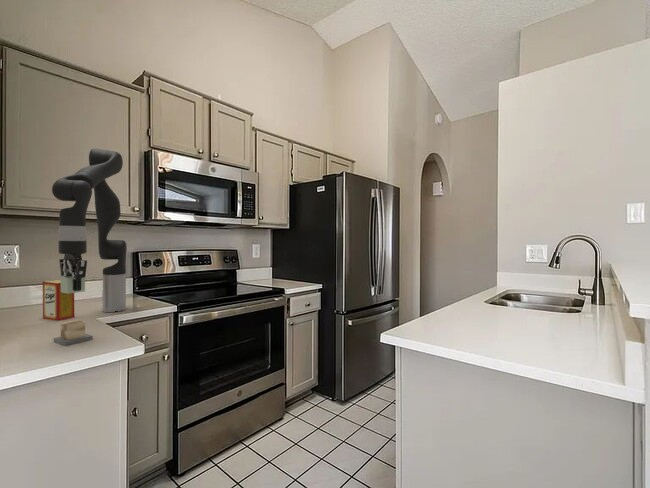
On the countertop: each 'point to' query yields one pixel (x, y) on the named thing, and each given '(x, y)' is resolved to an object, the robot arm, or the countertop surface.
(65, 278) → the sage block
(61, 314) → the baking soda box
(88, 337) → the base plate
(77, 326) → the oak block
